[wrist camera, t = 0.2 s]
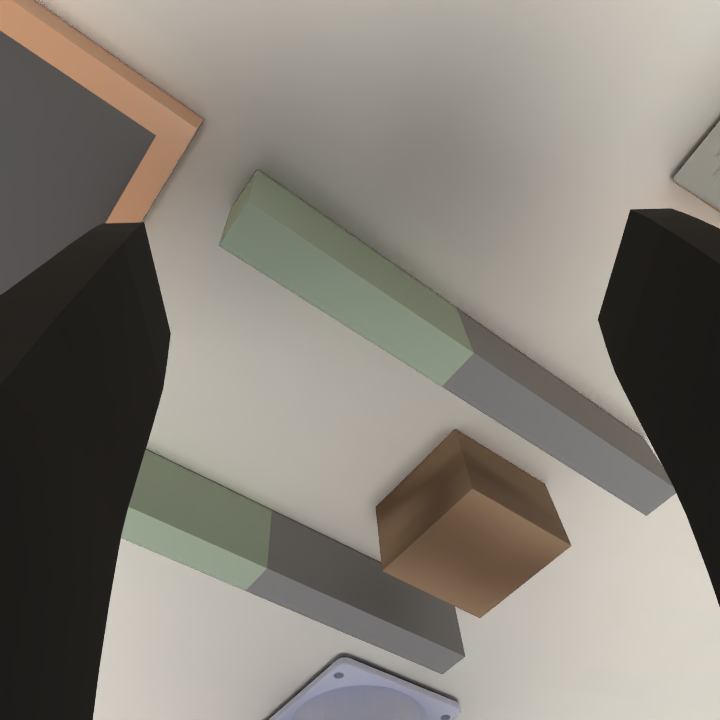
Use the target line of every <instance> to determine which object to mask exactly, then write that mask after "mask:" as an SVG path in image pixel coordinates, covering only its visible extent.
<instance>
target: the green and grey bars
mask: <svg viewBox="0 0 720 720" xmlns="http://www.w3.org/2000/svg"><path fill="white" fill-rule="evenodd" d="M219 246H220V247H222V248H223V249H225V250H226V251H228V252H230V253H231V254H233V255H234V256H236V257H238V258H239V259H241V260H242V261H244V262H245V263H247V264H249V265H250V266H252V267H253V268H255V269H257V270H258V271H260V272H261V273H263V274H264V275H266V276H268V277H269V278H271V279H272V280H274V281H276V282H277V283H279V284H280V285H282V286H283V287H285V288H287V289H288V290H290V291H291V292H293V293H295V294H296V295H298V296H299V297H301V298H302V299H304V300H306V301H307V302H309V303H310V304H312V305H313V306H315V307H317V308H318V309H320V310H321V311H323V312H325V313H326V314H328V315H329V316H331V317H332V318H334V319H336V320H337V321H339V322H340V323H342V324H344V325H345V326H347V327H348V328H350V329H351V330H353V331H355V332H356V333H358V334H359V335H361V336H363V337H364V338H366V339H367V340H369V341H370V342H372V343H374V344H375V345H377V346H378V347H380V348H382V349H383V350H385V351H386V352H388V353H389V354H391V355H393V356H394V357H396V358H397V359H399V360H401V361H402V362H404V363H405V364H407V365H408V366H410V367H412V368H413V369H415V370H416V371H418V372H420V373H421V374H423V375H424V376H426V377H427V378H429V379H431V380H432V381H434V382H435V383H437V384H439V385H440V386H442V387H443V388H445V389H446V390H448V391H450V392H451V393H453V394H454V395H456V396H458V397H459V398H461V399H462V400H464V401H465V402H467V403H469V404H470V405H472V406H473V407H475V408H477V409H478V410H480V411H481V412H483V413H484V414H486V415H488V416H489V417H491V418H492V419H494V420H496V421H497V422H499V423H500V424H502V425H503V426H505V427H507V428H508V429H510V430H511V431H513V432H515V433H516V434H518V435H519V436H521V437H522V438H524V439H526V440H527V441H529V442H530V443H532V444H534V445H535V446H537V447H538V448H540V449H541V450H543V451H545V452H546V453H548V454H549V455H551V456H553V457H554V458H556V459H557V460H559V461H560V462H562V463H564V464H565V465H567V466H568V467H570V468H571V469H573V470H575V471H576V472H578V473H579V474H581V475H583V476H584V477H586V478H587V479H589V480H590V481H592V482H594V483H595V484H597V485H598V486H600V487H602V488H603V489H605V490H606V491H608V492H609V493H611V494H613V495H614V496H616V497H617V498H619V499H621V500H622V501H624V502H625V503H627V504H628V505H630V506H632V507H633V508H635V509H636V510H638V511H640V512H641V513H643V514H644V515H646V516H647V515H648V514H650V513H651V512H652V511H653V510H655V509H656V508H657V507H659V506H660V505H661V504H662V503H664V502H665V501H666V500H668V499H669V498H670V497H671V496H673V495H674V494H675V493H676V491H675V489H674V487H673V485H672V483H671V481H670V479H669V477H668V475H667V473H666V471H665V469H664V468H663V466H662V465H661V463H660V462H659V460H658V459H657V457H656V456H655V454H654V453H653V451H652V450H651V448H650V447H649V445H648V444H647V442H646V441H645V439H644V438H643V437H641V436H640V435H639V434H637V433H636V432H634V431H633V430H631V429H630V428H628V427H627V426H626V425H624V424H623V423H621V422H620V421H618V420H617V419H616V418H614V417H613V416H611V415H610V414H608V413H607V412H605V411H604V410H603V409H601V408H600V407H598V406H597V405H595V404H594V403H593V402H591V401H590V400H588V399H587V398H585V397H584V396H583V395H581V394H580V393H578V392H577V391H575V390H574V389H572V388H571V387H570V386H568V385H567V384H565V383H564V382H562V381H561V380H560V379H558V378H557V377H555V376H554V375H552V374H551V373H549V372H548V371H547V370H545V369H544V368H542V367H541V366H539V365H538V364H537V363H535V362H534V361H532V360H531V359H529V358H528V357H526V356H525V355H524V354H522V353H521V352H519V351H518V350H516V349H515V348H514V347H512V346H511V345H509V344H508V343H506V342H505V341H503V340H502V339H501V338H499V337H498V336H496V335H495V334H493V333H492V332H491V331H489V330H488V329H486V328H485V327H483V326H482V325H480V324H479V323H478V322H476V321H475V320H473V319H472V318H470V317H469V316H468V315H466V314H465V313H463V312H462V311H460V310H459V309H457V308H456V307H455V306H453V305H452V304H450V303H449V302H447V301H446V300H445V299H443V298H442V297H440V296H439V295H437V294H436V293H434V292H433V291H432V290H430V289H429V288H427V287H426V286H424V285H423V284H422V283H420V282H419V281H417V280H416V279H414V278H413V277H411V276H410V275H409V274H407V273H406V272H404V271H403V270H401V269H400V268H399V267H397V266H396V265H394V264H393V263H391V262H390V261H389V260H387V259H386V258H384V257H383V256H381V255H380V254H378V253H377V252H376V251H374V250H373V249H371V248H370V247H368V246H367V245H366V244H364V243H363V242H361V241H360V240H358V239H357V238H355V237H354V236H353V235H351V234H350V233H348V232H347V231H345V230H344V229H343V228H341V227H340V226H338V225H337V224H335V223H334V222H332V221H331V220H330V219H328V218H327V217H325V216H324V215H322V214H321V213H320V212H318V211H317V210H315V209H314V208H312V207H311V206H309V205H308V204H307V203H305V202H304V201H302V200H301V199H299V198H298V197H297V196H295V195H294V194H292V193H291V192H289V191H288V190H286V189H285V188H284V187H282V186H281V185H279V184H278V183H276V182H275V181H274V180H272V179H271V178H269V177H268V176H266V175H265V174H263V173H262V172H261V171H259V170H258V169H257V171H256V172H255V174H254V175H253V177H252V178H251V180H250V181H249V183H248V184H247V186H246V187H245V189H244V190H243V192H242V193H241V195H240V196H239V198H238V199H237V201H236V202H235V204H234V205H233V207H232V208H231V210H230V213H229V216H228V219H227V222H226V225H225V228H224V231H223V234H222V237H221V240H220V243H219ZM121 538H122V539H125V540H127V541H130V542H132V543H134V544H137V545H139V546H141V547H144V548H146V549H148V550H151V551H153V552H155V553H158V554H160V555H163V556H165V557H167V558H170V559H172V560H174V561H177V562H179V563H181V564H184V565H186V566H188V567H191V568H193V569H195V570H198V571H200V572H203V573H205V574H207V575H210V576H212V577H214V578H217V579H219V580H221V581H224V582H226V583H228V584H231V585H233V586H236V587H238V588H240V589H243V590H245V591H247V592H250V593H252V594H254V595H257V596H259V597H261V598H264V599H266V600H268V601H271V602H273V603H276V604H278V605H280V606H283V607H285V608H287V609H290V610H292V611H294V612H297V613H299V614H301V615H304V616H306V617H309V618H311V619H313V620H316V621H318V622H320V623H323V624H325V625H327V626H330V627H332V628H334V629H337V630H339V631H342V632H344V633H346V634H349V635H351V636H353V637H356V638H358V639H360V640H363V641H365V642H367V643H370V644H372V645H374V646H377V647H379V648H382V649H384V650H386V651H389V652H391V653H393V654H396V655H398V656H400V657H403V658H405V659H407V660H410V661H412V662H415V663H417V664H419V665H422V666H424V667H426V668H429V669H431V670H433V671H436V672H438V673H440V674H443V673H445V672H446V671H447V670H448V669H450V668H451V667H452V666H454V665H455V664H456V663H457V662H459V661H460V660H461V659H463V658H464V657H465V653H464V648H463V644H462V639H461V634H460V629H459V624H458V620H457V615H456V610H455V606H453V605H451V604H449V603H447V602H445V601H443V600H441V599H439V598H437V597H435V596H433V595H431V594H429V593H427V592H425V591H423V590H420V589H418V588H416V587H414V586H412V585H410V584H408V583H406V582H404V581H402V580H400V579H398V578H396V577H394V576H392V575H390V574H387V573H385V572H383V571H382V563H380V562H378V561H376V560H374V559H371V558H369V557H367V556H365V555H363V554H361V553H359V552H357V551H355V550H353V549H351V548H349V547H347V546H345V545H342V544H340V543H338V542H336V541H334V540H332V539H330V538H328V537H326V536H324V535H322V534H320V533H318V532H316V531H314V530H311V529H309V528H307V527H305V526H303V525H301V524H299V523H297V522H295V521H293V520H291V519H289V518H287V517H285V516H282V515H280V514H278V513H276V512H274V511H272V510H270V509H268V508H266V507H264V506H262V505H260V504H258V503H256V502H254V501H251V500H249V499H247V498H245V497H243V496H241V495H239V494H237V493H235V492H233V491H231V490H229V489H227V488H225V487H222V486H220V485H218V484H216V483H214V482H212V481H210V480H208V479H206V478H204V477H202V476H200V475H198V474H196V473H194V472H191V471H189V470H187V469H185V468H183V467H181V466H179V465H177V464H175V463H173V462H171V461H169V460H167V459H165V458H162V457H160V456H158V455H156V454H154V453H152V452H150V451H148V450H145V453H144V456H143V460H142V463H141V467H140V470H139V473H138V477H137V480H136V484H135V487H134V490H133V494H132V497H131V500H130V504H129V507H128V511H127V514H126V519H125V523H124V527H123V531H122V535H121Z"/></svg>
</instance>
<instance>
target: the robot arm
mask: <svg viewBox="0 0 720 720" xmlns="http://www.w3.org/2000/svg"><path fill="white" fill-rule="evenodd" d="M598 321H599V324H600V328H601V331H602V334H603V338H604V341H605V344H606V348H607V351H608V354H609V356H610V359H611V362H612V365H613V368H614V371H615V373H616V375H617V377H618V379H619V381H620V384H621V386H622V388H623V390H624V392H625V394H626V396H627V398H628V400H629V401H630V403H631V405H632V407H633V409H634V411H635V413H636V415H637V417H638V419H639V421H640V423H641V425H642V427H643V429H644V431H645V433H646V435H647V437H648V438H649V440H650V442H651V444H652V446H653V448H654V450H655V452H656V454H657V456H658V458H659V460H660V462H661V464H662V466H663V467H664V469H665V471H666V473H667V475H668V477H669V479H670V481H671V483H672V485H673V487H674V489H675V491H676V493H677V495H678V498H679V500H680V502H681V504H682V506H683V509H684V511H685V513H686V515H687V518H688V520H689V523H690V526H691V528H692V531H693V534H694V536H695V539H696V542H697V544H698V547H699V550H700V552H701V555H702V558H703V560H704V563H705V566H706V568H707V571H708V574H709V577H710V579H711V582H712V585H713V588H714V591H715V594H716V597H717V600H718V603H719V606H720V229H719V228H717V227H715V226H713V225H710V224H708V223H706V222H704V221H702V220H700V219H697V218H695V217H693V216H690V215H688V214H685V213H682V212H679V211H676V210H674V209H634V210H630V213H629V216H628V219H627V223H626V226H625V230H624V233H623V236H622V240H621V243H620V246H619V250H618V253H617V257H616V260H615V263H614V267H613V270H612V273H611V277H610V280H609V284H608V287H607V290H606V294H605V297H604V300H603V304H602V307H601V311H600V314H599V317H598ZM170 334H171V333H170V329H169V325H168V320H167V316H166V312H165V308H164V304H163V300H162V295H161V291H160V287H159V283H158V279H157V275H156V270H155V266H154V262H153V258H152V254H151V250H150V245H149V241H148V237H147V233H146V229H145V225H144V222H138V223H102V224H100V225H98V226H96V227H94V228H93V229H91V230H90V231H88V232H87V233H85V234H84V235H82V236H81V237H79V238H78V239H77V240H75V241H74V242H72V243H71V244H70V245H68V246H67V247H66V248H64V249H63V250H61V251H60V252H59V253H57V254H56V255H55V256H53V257H52V258H51V259H49V260H48V261H47V262H45V263H44V264H43V265H41V266H40V267H38V268H37V269H36V270H34V271H33V272H32V273H30V274H29V275H28V276H26V277H25V278H23V279H22V280H21V281H19V282H18V283H17V284H15V285H14V286H13V287H11V288H10V289H8V290H7V291H6V292H4V293H3V294H1V295H0V720H93V713H94V705H95V697H96V689H97V682H98V674H99V667H100V660H101V654H102V647H103V641H104V634H105V627H106V621H107V614H108V608H109V601H110V596H111V590H112V584H113V579H114V573H115V567H116V561H117V556H118V550H119V544H120V539H121V535H122V531H123V527H124V523H125V519H126V514H127V511H128V507H129V504H130V500H131V497H132V494H133V490H134V487H135V484H136V480H137V477H138V473H139V470H140V467H141V463H142V460H143V456H144V453H145V450H146V446H147V443H148V440H149V436H150V433H151V429H152V426H153V422H154V419H155V415H156V412H157V408H158V405H159V401H160V398H161V394H162V391H163V386H164V379H165V373H166V366H167V358H168V350H169V342H170ZM460 712H461V709H460V705H459V703H457V702H456V701H453V700H451V699H448V698H446V697H443V696H441V695H439V694H436V693H434V692H431V691H429V690H426V689H424V688H421V687H419V686H417V685H414V684H412V683H409V682H407V681H404V680H402V679H399V678H397V677H395V676H392V675H390V674H387V673H385V672H382V671H380V670H377V669H375V668H373V667H370V666H368V665H365V664H363V663H360V662H358V661H355V660H353V659H351V658H347V657H343V658H339V659H338V660H336V661H335V662H334V663H333V664H332V665H331V666H329V667H328V668H327V669H326V670H325V671H324V672H323V673H321V674H320V675H319V676H318V677H317V678H316V679H315V680H313V681H312V682H311V683H310V684H309V685H308V686H307V687H305V688H304V689H303V690H302V691H301V692H300V693H299V694H297V695H296V696H295V697H294V698H293V699H292V700H290V701H289V702H288V703H287V704H286V705H285V706H284V707H282V708H281V709H280V710H279V711H278V712H277V713H276V714H274V715H273V716H272V717H271V718H270V719H269V720H453V719H454V718H455V717H457V716H458V715H459V714H460Z"/></svg>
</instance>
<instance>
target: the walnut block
mask: <svg viewBox="0 0 720 720" xmlns="http://www.w3.org/2000/svg"><path fill="white" fill-rule="evenodd" d="M376 515H377V524H378V534H379V543H380V553H381V563H382V571H383V572H385V573H387V574H390V575H392V576H394V577H396V578H398V579H400V580H402V581H404V582H406V583H408V584H410V585H412V586H414V587H416V588H418V589H420V590H423V591H425V592H427V593H429V594H431V595H433V596H435V597H437V598H439V599H441V600H443V601H445V602H447V603H449V604H451V605H453V606H456V607H458V608H460V609H462V610H464V611H466V612H468V613H470V614H472V615H474V616H476V617H478V618H481V617H482V616H483V615H485V614H486V613H487V612H489V611H490V610H491V609H492V608H494V607H495V606H496V605H497V604H499V603H500V602H501V601H502V600H504V599H505V598H506V597H507V596H509V595H510V594H511V593H512V592H514V591H515V590H516V589H517V588H519V587H520V586H521V585H522V584H524V583H525V582H526V581H528V580H529V579H530V578H531V577H533V576H534V575H535V574H536V573H538V572H539V571H540V570H541V569H543V568H544V567H545V566H546V565H548V564H549V563H550V562H551V561H553V560H554V559H555V558H556V557H558V556H559V555H560V554H562V553H563V552H564V551H565V550H567V549H568V548H569V547H570V546H571V544H570V541H569V539H568V537H567V534H566V532H565V530H564V527H563V525H562V523H561V520H560V518H559V515H558V513H557V511H556V508H555V506H554V504H553V501H552V499H551V497H550V494H549V492H548V490H547V487H546V485H545V484H544V483H543V482H541V481H539V480H538V479H536V478H534V477H533V476H531V475H530V474H528V473H526V472H525V471H523V470H521V469H520V468H518V467H517V466H515V465H513V464H512V463H510V462H508V461H507V460H505V459H504V458H502V457H500V456H499V455H497V454H495V453H494V452H492V451H490V450H489V449H487V448H486V447H484V446H482V445H481V444H479V443H477V442H476V441H474V440H473V439H471V438H469V437H468V436H466V435H464V434H463V433H461V432H460V431H458V430H456V429H455V430H454V431H453V432H452V433H451V434H450V435H449V436H448V437H447V438H446V439H445V440H444V441H443V442H442V443H441V444H440V445H439V446H438V447H437V448H436V449H435V450H434V451H432V452H431V453H430V454H429V455H428V456H427V457H426V458H425V459H424V460H423V461H422V462H421V463H420V464H419V465H418V466H417V467H416V468H415V469H414V470H413V471H412V472H411V473H410V474H409V475H408V476H407V477H406V478H405V479H404V480H403V481H402V482H401V483H400V484H399V485H398V486H397V487H396V488H395V489H394V490H393V491H392V492H391V493H390V494H389V495H388V496H387V497H386V498H385V499H384V500H383V501H382V502H380V503H379V504H378V505H377V506H376Z"/></svg>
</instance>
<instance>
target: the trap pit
mask: <svg viewBox="0 0 720 720" xmlns="http://www.w3.org/2000/svg"><path fill="white" fill-rule="evenodd" d="M203 120H204V119H202V118H201V117H199V116H198V115H197V114H195V113H194V112H192V111H191V110H189V109H188V108H187V107H185V106H184V105H182V104H181V103H180V102H178V101H177V100H175V99H174V98H172V97H171V96H170V95H168V94H167V93H165V92H164V91H162V90H161V89H160V88H158V87H157V86H155V85H154V84H153V83H151V82H150V81H148V80H147V79H145V78H144V77H143V76H141V75H140V74H138V73H137V72H135V71H134V70H133V69H131V68H130V67H128V66H127V65H126V64H124V63H123V62H121V61H120V60H118V59H117V58H116V57H114V56H113V55H111V54H110V53H108V52H107V51H106V50H104V49H103V48H101V47H100V46H99V45H97V44H96V43H94V42H93V41H91V40H90V39H89V38H87V37H86V36H84V35H83V34H81V33H80V32H79V31H77V30H76V29H74V28H73V27H72V26H70V25H69V24H67V23H66V22H64V21H63V20H62V19H60V18H59V17H57V16H56V15H54V14H53V13H52V12H50V11H49V10H47V9H46V8H45V7H43V6H42V5H40V4H39V3H37V2H36V1H35V0H0V295H1V294H3V293H4V292H6V291H7V290H8V289H10V288H11V287H13V286H14V285H15V284H17V283H18V282H19V281H21V280H22V279H23V278H25V277H26V276H28V275H29V274H30V273H32V272H33V271H34V270H36V269H37V268H38V267H40V266H41V265H43V264H44V263H45V262H47V261H48V260H49V259H51V258H52V257H53V256H55V255H56V254H57V253H59V252H60V251H61V250H63V249H64V248H66V247H67V246H68V245H70V244H71V243H72V242H74V241H75V240H77V239H78V238H79V237H81V236H82V235H84V234H85V233H87V232H88V231H90V230H91V229H93V228H94V227H96V226H98V225H100V224H102V223H138V222H142V220H143V219H144V217H145V215H146V214H147V212H148V210H149V209H150V207H151V205H152V204H153V202H154V201H155V199H156V197H157V196H158V194H159V192H160V191H161V189H162V187H163V186H164V184H165V182H166V181H167V179H168V177H169V176H170V174H171V173H172V171H173V169H174V168H175V166H176V164H177V163H178V161H179V159H180V158H181V156H182V154H183V153H184V151H185V149H186V148H187V146H188V145H189V143H190V141H191V140H192V138H193V136H194V135H195V133H196V131H197V130H198V128H199V126H200V125H201V123H202V121H203Z"/></svg>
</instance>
